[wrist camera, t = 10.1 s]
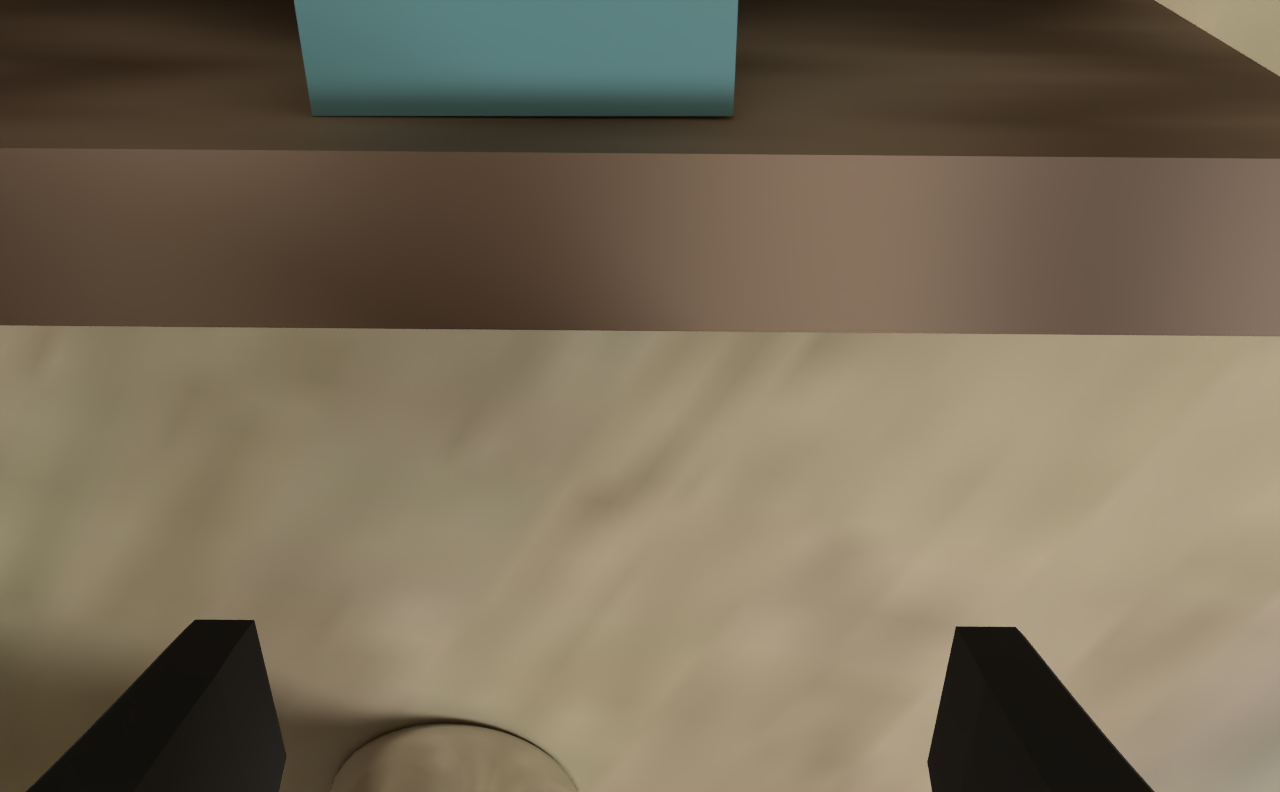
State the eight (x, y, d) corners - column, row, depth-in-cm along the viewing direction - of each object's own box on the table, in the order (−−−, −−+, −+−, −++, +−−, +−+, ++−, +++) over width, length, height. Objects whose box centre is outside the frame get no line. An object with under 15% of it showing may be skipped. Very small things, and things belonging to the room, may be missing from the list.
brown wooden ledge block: (3, 116, 18) (-311, 322, 12) (-103, -239, 16) (-569, -195, 10) (1118, 125, 18) (1348, 336, 12) (1203, -229, 15) (1549, -180, 10)
